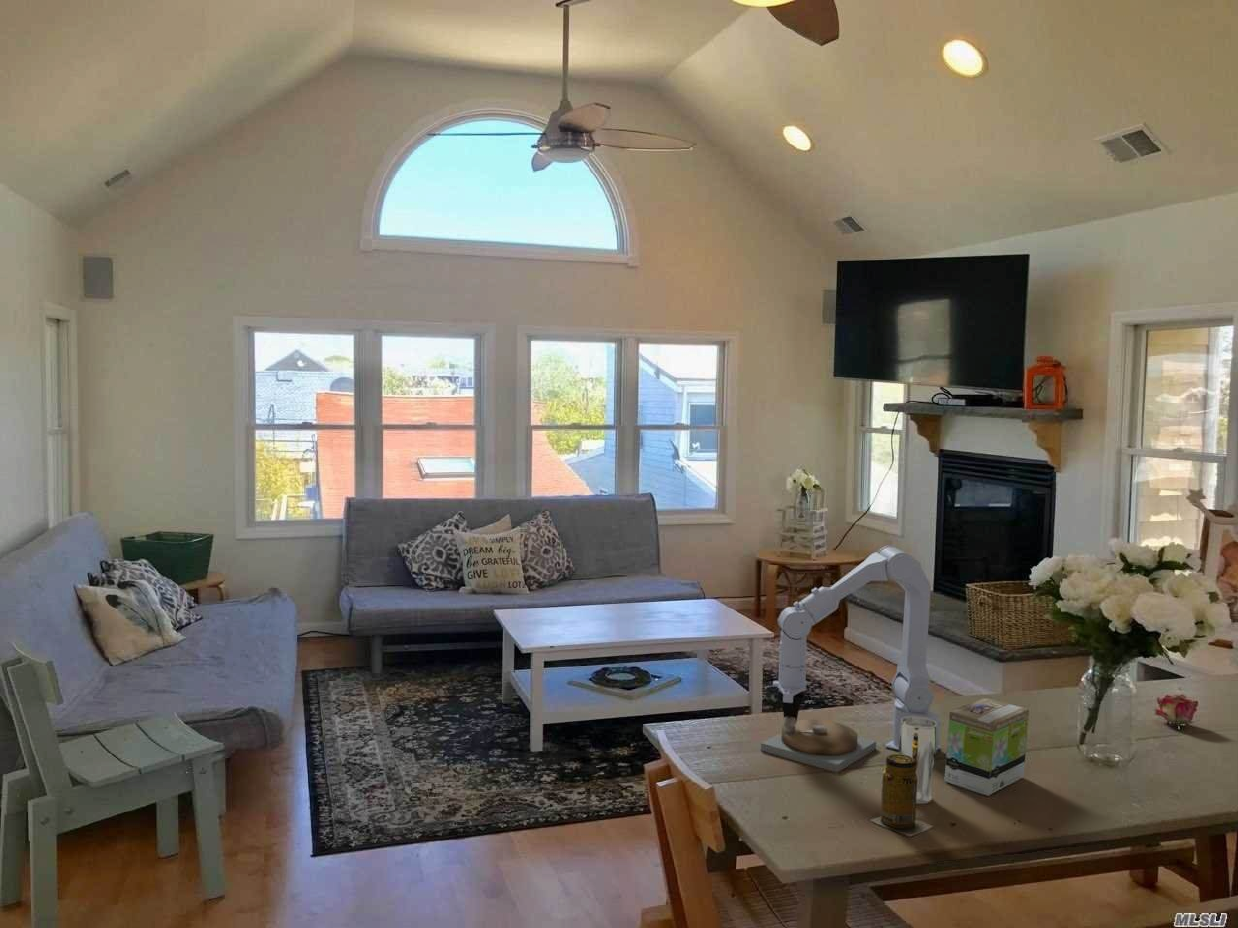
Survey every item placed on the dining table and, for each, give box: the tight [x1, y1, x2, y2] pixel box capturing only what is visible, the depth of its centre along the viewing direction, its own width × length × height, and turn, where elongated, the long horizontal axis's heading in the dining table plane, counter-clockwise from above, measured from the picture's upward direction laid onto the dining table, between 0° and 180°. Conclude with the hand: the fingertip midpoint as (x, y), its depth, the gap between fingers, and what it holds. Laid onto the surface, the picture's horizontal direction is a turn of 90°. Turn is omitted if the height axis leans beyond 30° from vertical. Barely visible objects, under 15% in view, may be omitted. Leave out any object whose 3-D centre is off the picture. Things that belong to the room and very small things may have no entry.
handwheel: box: [781, 716, 859, 755], centre depth 222 cm, size 16×16×5 cm
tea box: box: [943, 697, 1030, 797], centre depth 207 cm, size 15×10×15 cm, turn 134°
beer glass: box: [898, 716, 938, 805], centre depth 197 cm, size 7×7×15 cm
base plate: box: [760, 732, 877, 774], centre depth 222 cm, size 18×18×2 cm
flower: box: [1153, 694, 1199, 727], centre depth 242 cm, size 10×9×8 cm
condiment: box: [870, 753, 934, 837], centre depth 186 cm, size 7×8×12 cm
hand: (790, 725), depth 223 cm, fingers closed, pressing on handwheel
